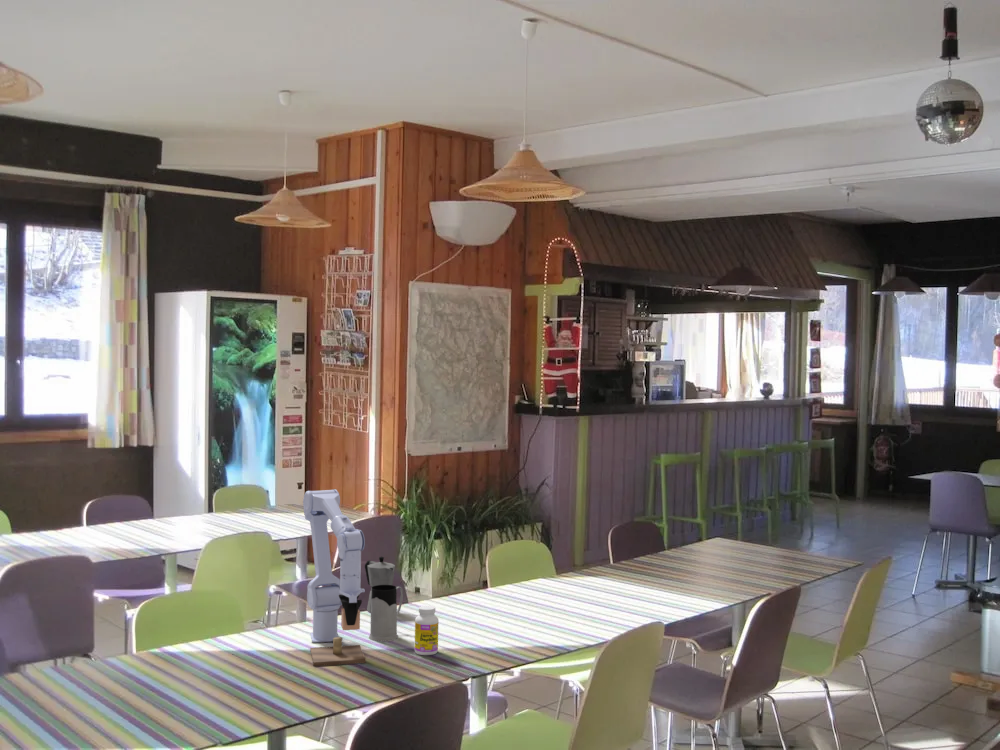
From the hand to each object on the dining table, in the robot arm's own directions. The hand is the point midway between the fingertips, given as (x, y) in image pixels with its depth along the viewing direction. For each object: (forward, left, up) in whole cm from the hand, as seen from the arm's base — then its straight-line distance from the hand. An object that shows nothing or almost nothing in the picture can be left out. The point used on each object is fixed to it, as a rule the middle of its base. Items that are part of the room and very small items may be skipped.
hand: (349, 622), depth 271 cm
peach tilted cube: (0, 0, -2) cm, 2 cm away
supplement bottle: (+1, +22, -10) cm, 24 cm away
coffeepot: (-50, +15, -10) cm, 53 cm away
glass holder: (-19, +14, -10) cm, 25 cm away
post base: (0, -3, -9) cm, 10 cm away
